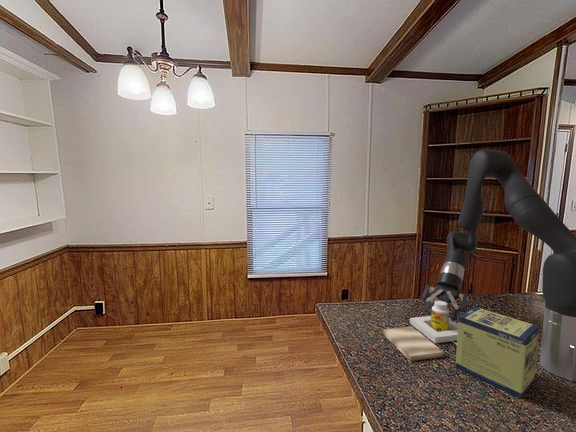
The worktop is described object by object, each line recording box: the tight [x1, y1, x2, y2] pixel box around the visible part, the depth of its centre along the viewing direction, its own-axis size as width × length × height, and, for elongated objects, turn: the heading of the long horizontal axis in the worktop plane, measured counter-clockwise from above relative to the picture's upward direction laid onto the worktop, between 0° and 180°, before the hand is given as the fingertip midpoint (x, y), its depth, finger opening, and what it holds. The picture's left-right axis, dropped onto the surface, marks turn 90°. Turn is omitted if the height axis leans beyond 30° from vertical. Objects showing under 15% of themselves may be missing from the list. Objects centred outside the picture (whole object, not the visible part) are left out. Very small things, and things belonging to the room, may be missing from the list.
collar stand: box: [409, 315, 458, 344], centre depth 103 cm, size 14×14×2 cm
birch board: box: [382, 325, 444, 362], centre depth 95 cm, size 16×11×2 cm
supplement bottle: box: [430, 300, 451, 332], centre depth 103 cm, size 6×6×10 cm
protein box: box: [454, 306, 540, 400], centre depth 79 cm, size 10×16×16 cm
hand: (439, 316), depth 102 cm, fingers open, 8 cm apart
